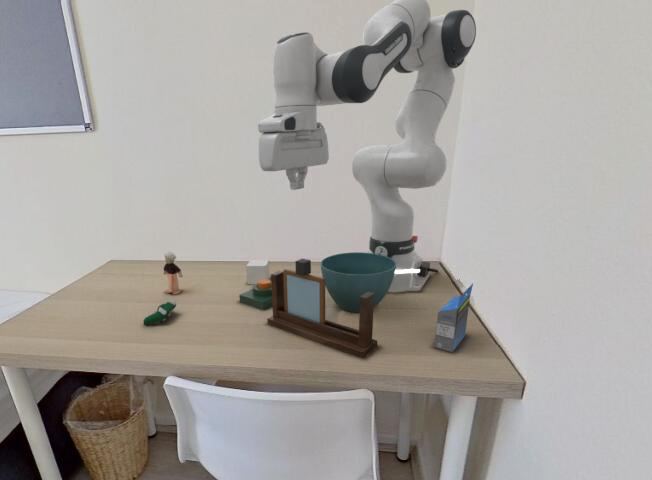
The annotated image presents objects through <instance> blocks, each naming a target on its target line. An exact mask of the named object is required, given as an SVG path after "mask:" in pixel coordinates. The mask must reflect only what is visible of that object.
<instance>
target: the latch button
mask: <svg viewBox="0 0 652 480" xmlns="http://www.w3.org/2000/svg"><path fill="white" fill-rule="evenodd" d="M258 288H259V289H268V288H271V279H269V280H267V279H263V280H259V281H258Z"/></svg>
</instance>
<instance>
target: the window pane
mask: <svg viewBox="0 0 652 480" xmlns="http://www.w3.org/2000/svg"><path fill="white" fill-rule="evenodd" d="M282 272H283V282H284V309H285V312H287V313H291V314H294V315H297V316H300V317H303V318H306V319H309V320H312V321H315V322H318V323H322V324H325V320H326V286H325V278H323V276H318V275H313V274H311V273H312V261H311V259H307V258H300V259H297V260H295V270H291V269H286V268H285V269H283V270H282Z"/></svg>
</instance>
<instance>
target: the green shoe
mask: <svg viewBox="0 0 652 480" xmlns="http://www.w3.org/2000/svg"><path fill="white" fill-rule="evenodd" d="M176 306H177V303H176V301H174V300H173V299H171V298H169V299H168V300H167V302H165V303H161V304H159V305H158V307H157V311H155V312H154V313H152V314H150V315H148V316H146V317H145V318H144V319H143V325H144V326H149V325H150V326H151V325H154V324H157V323H159V322H165V321H166V319H167V318H166V317H170V316H171V315H172V313H171V312H173V310H174V309H175V308H176Z"/></svg>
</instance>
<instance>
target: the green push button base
mask: <svg viewBox="0 0 652 480" xmlns="http://www.w3.org/2000/svg"><path fill="white" fill-rule="evenodd" d="M238 296H239V303H242V304H244V305H248V306H251V307H254V308H257V309H259V310H264V311H265V310H266V309H269V308H270V307H273V306H272V286H271V288H268V289H259V288H258V283H257V284H252V288H251V289H250V290H247V291H245V292H243V293H240V294H239V295H238Z"/></svg>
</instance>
